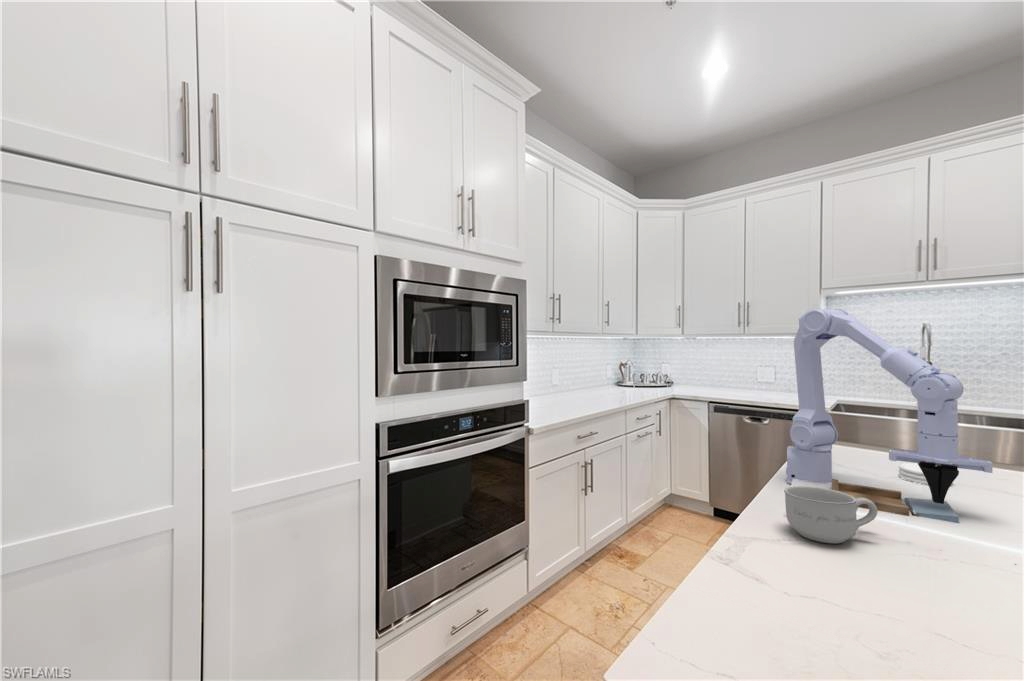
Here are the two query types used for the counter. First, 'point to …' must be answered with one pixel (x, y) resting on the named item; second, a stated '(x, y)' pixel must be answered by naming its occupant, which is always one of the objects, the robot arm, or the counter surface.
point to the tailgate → (931, 509)
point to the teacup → (825, 513)
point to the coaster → (912, 473)
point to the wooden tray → (874, 497)
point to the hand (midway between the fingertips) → (937, 501)
